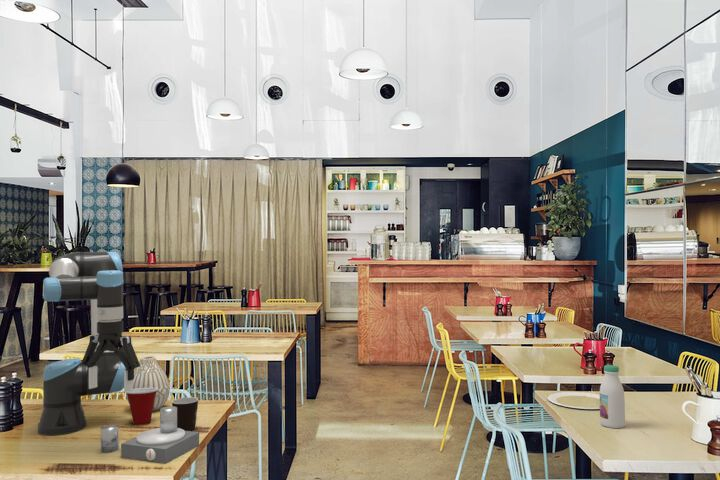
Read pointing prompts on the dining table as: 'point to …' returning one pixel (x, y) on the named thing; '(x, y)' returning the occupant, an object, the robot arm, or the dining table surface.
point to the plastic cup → (141, 404)
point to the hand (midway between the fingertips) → (110, 389)
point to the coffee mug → (186, 412)
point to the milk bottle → (612, 399)
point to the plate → (553, 397)
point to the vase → (152, 380)
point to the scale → (159, 445)
